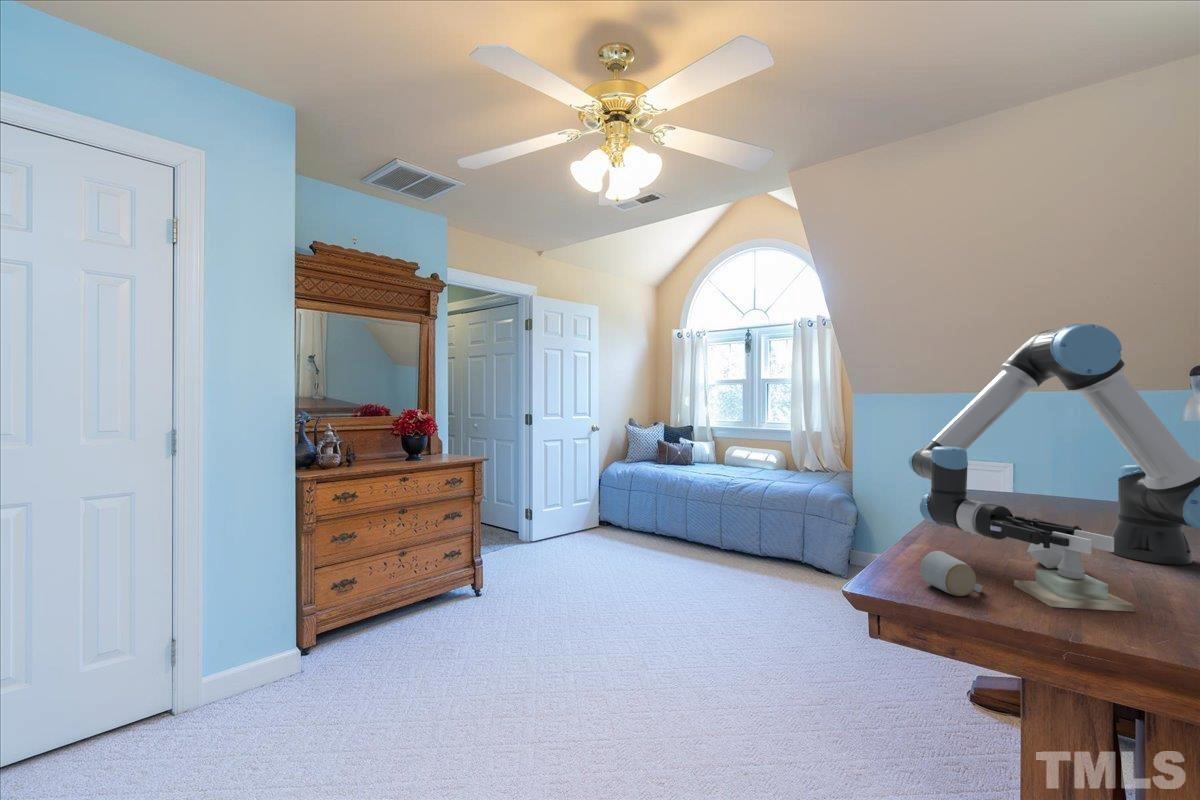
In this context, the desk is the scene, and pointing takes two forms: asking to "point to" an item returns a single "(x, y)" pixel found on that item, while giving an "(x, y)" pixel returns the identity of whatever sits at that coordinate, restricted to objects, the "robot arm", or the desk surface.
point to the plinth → (1070, 601)
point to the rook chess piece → (1071, 565)
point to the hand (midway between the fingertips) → (1101, 545)
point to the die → (1046, 554)
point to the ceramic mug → (949, 574)
